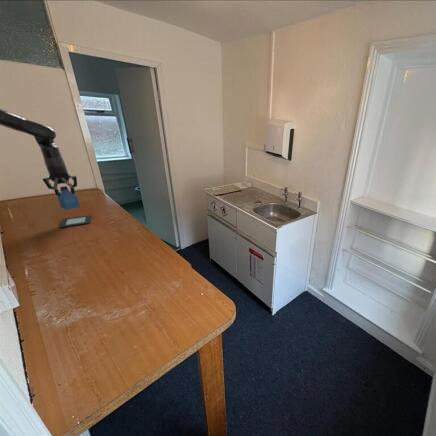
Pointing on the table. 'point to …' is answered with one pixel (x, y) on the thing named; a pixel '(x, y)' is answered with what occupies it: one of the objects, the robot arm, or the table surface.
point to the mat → (75, 221)
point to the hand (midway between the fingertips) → (66, 194)
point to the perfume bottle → (67, 199)
